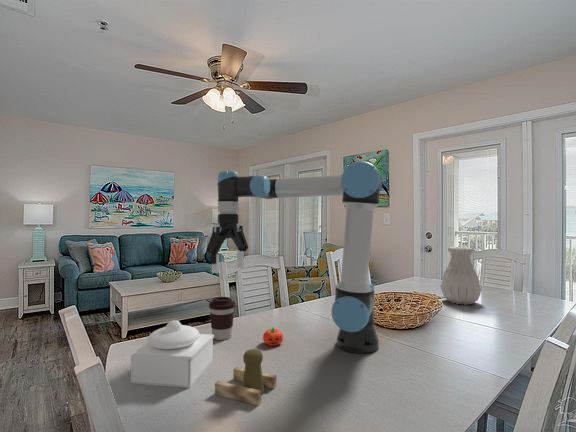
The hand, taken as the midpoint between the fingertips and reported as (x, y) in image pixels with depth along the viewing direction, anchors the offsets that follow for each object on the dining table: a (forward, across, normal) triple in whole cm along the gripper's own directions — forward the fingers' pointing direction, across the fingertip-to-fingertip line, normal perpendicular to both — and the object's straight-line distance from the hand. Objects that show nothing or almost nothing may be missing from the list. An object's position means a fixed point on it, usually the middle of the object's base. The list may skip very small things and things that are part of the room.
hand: (228, 270), depth 126 cm
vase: (+28, -113, +66) cm, 134 cm away
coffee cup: (+27, -3, -6) cm, 28 cm away
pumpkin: (+27, -8, +14) cm, 32 cm away
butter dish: (+27, +26, +3) cm, 38 cm away
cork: (+27, +23, +30) cm, 46 cm away
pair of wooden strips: (+27, +23, +28) cm, 45 cm away
